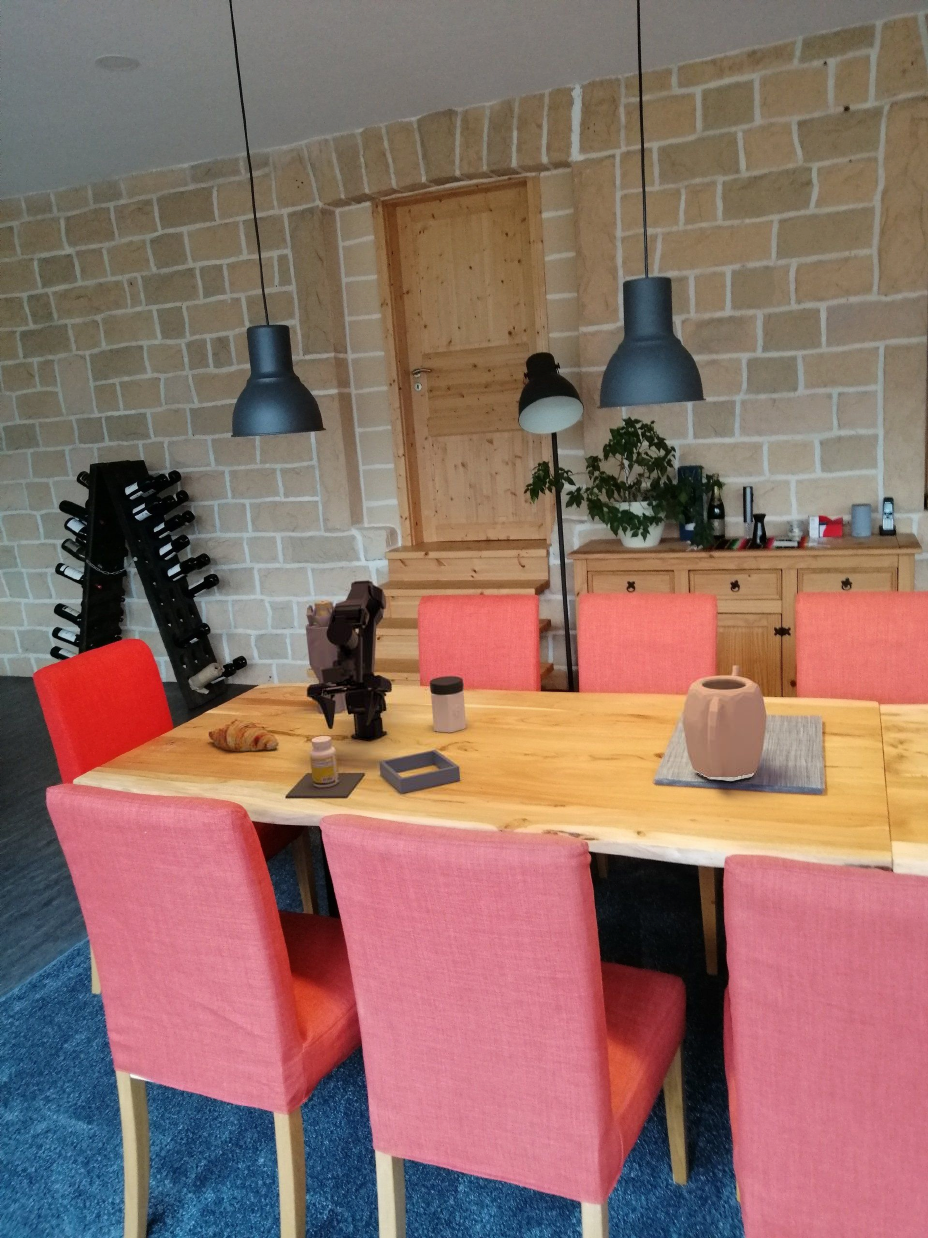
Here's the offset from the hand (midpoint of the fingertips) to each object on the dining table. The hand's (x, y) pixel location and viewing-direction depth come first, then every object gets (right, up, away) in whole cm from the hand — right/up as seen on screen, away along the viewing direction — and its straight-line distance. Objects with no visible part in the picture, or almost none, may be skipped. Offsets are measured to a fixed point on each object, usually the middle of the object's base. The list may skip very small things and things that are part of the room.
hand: (348, 726), depth 204 cm
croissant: (-28, -8, +22) cm, 36 cm away
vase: (-10, -1, +49) cm, 50 cm away
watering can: (+78, -7, -17) cm, 80 cm away
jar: (+22, -3, +25) cm, 33 cm away
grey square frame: (+16, -10, -8) cm, 20 cm away
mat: (-4, -11, -9) cm, 15 cm away
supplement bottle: (-4, -11, -9) cm, 15 cm away
